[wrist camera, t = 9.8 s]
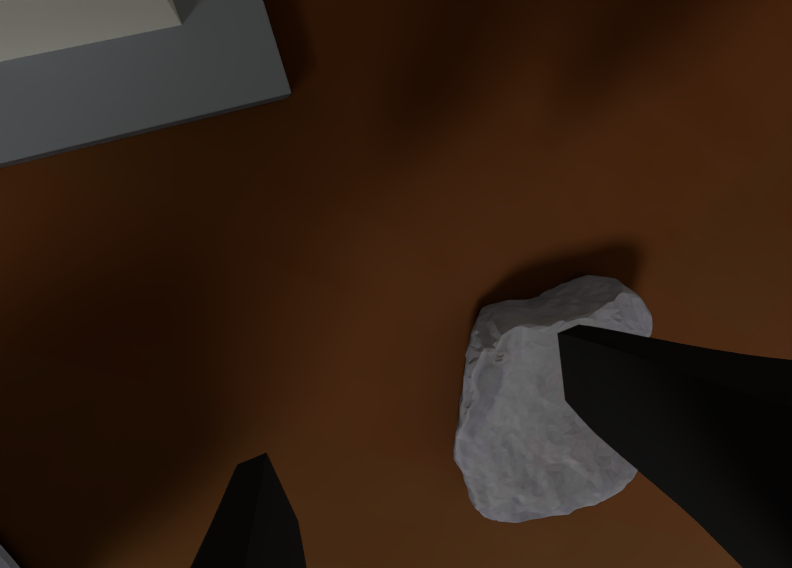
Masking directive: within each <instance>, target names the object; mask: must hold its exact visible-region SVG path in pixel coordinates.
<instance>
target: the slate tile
mask: <svg viewBox="0 0 792 568" xmlns="http://www.w3.org/2000/svg"><path fill="white" fill-rule="evenodd" d="M173 3H174V5H175V8H176V11H177V13H178V16H179V19H180V21H181V24H182V25H179V26H174V27H169V28H164V29H159V30H154V31H149V32H144V33H139V34H135V35H130V36H125V37H120V38H115V39H110V40H105V41H100V42H95V43H90V44H85V45H80V46H75V47H70V48H65V49H60V50H55V51H50V52H45V53H40V54H35V55H30V56H25V57H20V58H15V59H10V60H5V61H1V62H0V168H3V167H7V166H11V165H15V164H19V163H24V162H28V161H32V160H36V159H40V158H44V157H48V156H52V155H56V154H61V153H65V152H69V151H73V150H77V149H81V148H85V147H89V146H93V145H97V144H102V143H106V142H110V141H114V140H118V139H122V138H126V137H130V136H134V135H139V134H143V133H147V132H151V131H155V130H159V129H163V128H167V127H171V126H175V125H180V124H184V123H188V122H192V121H196V120H200V119H204V118H208V117H212V116H217V115H221V114H225V113H229V112H233V111H237V110H241V109H245V108H249V107H253V106H258V105H262V104H266V103H270V102H274V101H278V100H282V99H286V98H289V96H290V95H291V90H290V87H289V83H288V80H287V77H286V74H285V70H284V67H283V64H282V61H281V57H280V54H279V51H278V48H277V44H276V41H275V38H274V35H273V31H272V28H271V25H270V22H269V18H268V15H267V12H266V9H265V5H264V2H263V0H173Z"/></svg>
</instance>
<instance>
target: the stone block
mask: <svg viewBox="0 0 792 568" xmlns="http://www.w3.org/2000/svg"><path fill="white" fill-rule="evenodd" d="M578 324H579V325H587V326H594V327H600V328H605V329H610V330H615V331H620V332H625V333H630V334H635V335H640V336H645V337H649V336H650V334H651V332H652V315H651V313H650V312H649V310H648V309H647V307H646V305H645V303H644V302H643V300H642V298H641V297H640V296H639V295H637V294H636V293H635V292H634V291H632V290H631V289H629V288H628V287H626V286H625V285H623V284H622V283H621V282H620V281H619V280H617V279H615V278H609V277H602V276H593V275H586V276H582V277H579V278H576V279H573V280H571V281H569V282H567V283H562V284H560V285H558V286H557V287H555V288H552V289H550V290H548V291H546V292H544V293H542V294H541V295H539V296H538V297H535V298H532V299H528V300H506V301H502V302H499V303H495V304H489V305H487V306H485V307H482V309H481V311H480V312H479V316H478V317H477V320H476V323H475V325H474V327H473V329H472V332H471V335H470V342H469V345H468V348H467V352H466V354H465V356H466V364H465V370H464V377H463V378H464V383H463V392H462V394H461V395H460V402H459V405H460V411H459V416H458V420H457V428H456V434H455V441H454V445H453V453H454V454H453V458H454V460H455V462H456V463H457V465H458V466H459V468H460V469H461V470H462V473H463V477H464V481H465V484H466V487H467V489H468V493H469V499H470V500H471V502H472V504H473V505H474V507H475V509H477V510H478V511H480V513H481V514H482V515H483V516H484V517H486V518H489V519H492V520H498V521H501V522H514V523H519V522H522V521H527V520H530V519H537V518H544V517H548V516H555V515H568V514H570V513H571V512H572V511H573V510H575V509H578V508H582V507H584V506H592V505H596V504H598V503H599V502H601V501H604V500H606V499H607V498H609V497H611V496H613V495H615V494H617V493H618V492H620V491H622V490H623V489H624V488H625V486H626V484H627V483H629V482H630V481H631V480H632V479H633V478H634V476H635V474H636V472H637V471H638V470H637V469H636V468H635V467H633V466H632V465H631V464H630V463H629V462H627V461H626V460H625V459H624V458H623V457H622V456H620V455H619V454H618V453H617V452H616V451H615V450H613V449H612V448H611V447H610V446H609V445H608V444H606V443H605V442H604V441H603V440H602V439H601V438H600V437H599V436H597V435H596V434H595V433H594V432H593V431H592V430H591V429H590V428H589V427H588V426H587V424H586V423H585V422H584V421H583V420H582V419H581V418H580V417H579V416H578V415H577V414H576V412H575V411H574V410H573V409H572V408H571V407H570V406H569V404H568V403H567V402H566V401H565V396H564V387H563V379H562V370H561V361H560V352H559V344H558V335H557V333H559V332H561V331H564V330H566V329H568V328H571V327H573V326H576V325H578Z"/></svg>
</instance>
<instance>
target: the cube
mask: <svg viewBox="0 0 792 568" xmlns="http://www.w3.org/2000/svg"><path fill="white" fill-rule="evenodd" d="M179 25H182V24H181V21H180V19H179V16H178V13H177V11H176V8H175V5H174V3H173V0H0V62H1V61H5V60H10V59H15V58H20V57H25V56H30V55H35V54H40V53H45V52H50V51H55V50H60V49H65V48H70V47H75V46H80V45H85V44H90V43H95V42H100V41H105V40H110V39H115V38H120V37H125V36H130V35H135V34H139V33H144V32H149V31H154V30H159V29H164V28H169V27H174V26H179Z"/></svg>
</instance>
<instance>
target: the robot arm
mask: <svg viewBox="0 0 792 568" xmlns="http://www.w3.org/2000/svg"><path fill="white" fill-rule="evenodd" d="M557 335H558V344H559V352H560V361H561V370H562V379H563V387H564V396H565V401H566V402H567V403H568V404H569V406H570V407H571V408H572V409H573V410H574V411H575V412H576V414H577V415H578V416H579V417H580V418H581V419H582V420H583V421H584V422H585V423H586V424H587V426H588V427H589V428H590V429H591V430H592V431H593V432H594V433H595V434H596V435H597V436H599V437H600V438H601V439H602V440H603V441H604V442H605V443H606V444H608V445H609V446H610V447H611V448H612V449H613V450H615V451H616V452H617V453H618V454H619V455H620V456H622V457H623V458H624V459H625V460H626V461H627V462H629V463H630V464H631V465H632V466H633V467H635V468H636V469H637V470H638V471H639V472H640V473H642V474H643V475H644V476H645V477H646V478H647V479H649V480H650V481H651V482H652V483H653V484H655V485H656V486H657V487H658V488H659V489H660V490H662V491H663V492H664V493H665V494H666V495H668V496H669V497H670V498H671V499H672V500H673V501H675V502H676V503H677V504H678V505H679V506H680V507H681V508H683V509H684V510H685V511H686V512H687V513H688V514H689V515H690V516H691V517H692V518H694V519H695V520H696V521H697V522H698V523H699V524H700V525H701V526H702V527H703V528H704V529H705V530H706V531H707V532H708V533H709V534H710V535H711V536H712V537H713V538H714V539H715V540H716V541H717V542H718V543H719V544H720V545H721V546H722V547H723V548H724V549H725V550H726V551H727V552H728V553H729V554H730V555H731V556H732V557H733V558H734V559H735V560H736V561H737V562H738V563H739V564H740V565H741V566H742V567H743V568H792V360H787V359H778V358H768V357H760V356H753V355H746V354H739V353H733V352H726V351H720V350H714V349H708V348H702V347H696V346H691V345H685V344H680V343H675V342H670V341H665V340H660V339H655V338H650V337H645V336H640V335H635V334H630V333H625V332H620V331H615V330H610V329H605V328H600V327H594V326H587V325H579V324H578V325H576V326H573V327H571V328H568V329H566V330H564V331H561V332H559V333H557ZM0 568H20V567H19V566H18V565H17V563H16V562H15V561H14V560H13V559H12V557H11V556H10V555H9V554H8V553H7V552H6V550H5V549H4V548H3V547H2V546H1V545H0ZM190 568H306V562H305V556H304V551H303V545H302V540H301V534H300V529H299V524H298V520H297V518H296V516H295V513H294V511H293V509H292V507H291V505H290V503H289V500H288V498H287V496H286V494H285V492H284V490H283V487H282V485H281V483H280V481H279V479H278V477H277V474H276V472H275V470H274V468H273V466H272V464H271V461H270V459H269V457H268V455H267V453H265V454H262V455H260V456H257V457H255V458H252V459H250V460H248V461H245V462H243V463H240V464H238V465H237V467H236V469H235V470H234V473H233V475H232V477H231V479H230V482H229V484H228V486H227V489H226V491H225V493H224V496H223V498H222V500H221V502H220V505H219V507H218V509H217V511H216V514H215V516H214V518H213V520H212V523H211V525H210V527H209V529H208V531H207V534H206V536H205V538H204V540H203V542H202V544H201V546H200V548H199V550H198V553H197V555H196V557H195V559H194V561H193V563H192V565H191V567H190Z"/></svg>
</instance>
